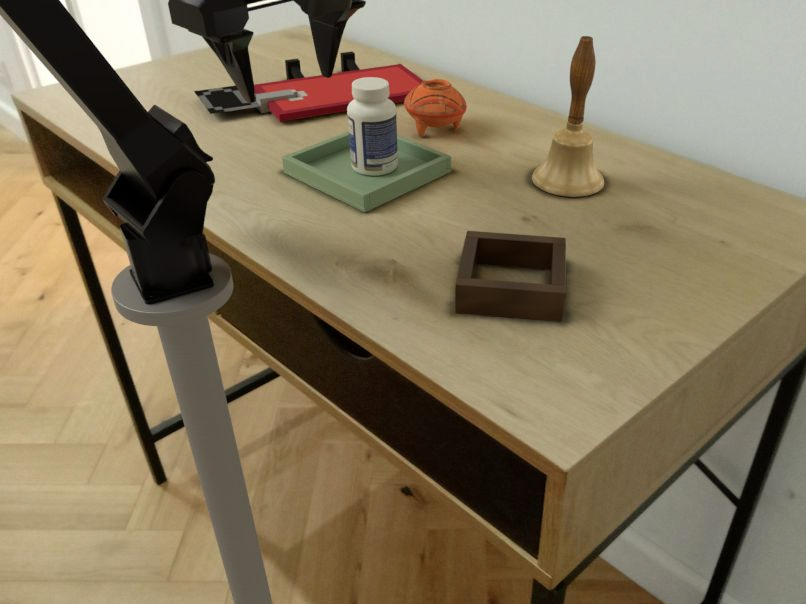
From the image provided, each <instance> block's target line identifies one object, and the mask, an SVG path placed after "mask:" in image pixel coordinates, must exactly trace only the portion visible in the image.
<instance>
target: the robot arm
mask: <svg viewBox="0 0 806 604" xmlns="http://www.w3.org/2000/svg"><path fill="white" fill-rule="evenodd" d="M289 2H294V3H295V4H296V5H298V6H299V8H300V10H301V11H302V12H303V13H304V14H305V15H307V17H308V22H309V26H310V31H311V37H312V42H313V46H314V52H315V56H316V61H317V64H318V67H319V70H320V75H322V76H323V77H326V78H330V77H332V74H333V73H334V69H335V65H336V62H337V58H338V53H339V50H340V45H341V42H342V39H343V38H342V37H343V35H344V33H345V32H344V31H345V29H346V26H347V23H348V21H349V20H350V19H351V18H352V16H353V15H354V14H355V13H357V11H359V10H360V9H363V8H364V7H365V6H366V3H367V1H366V0H168V1H167V6H168V10H169V16H170V21H171V24H172V25H174V26H177V27H180V28H182V29H185V30H187V31H188V32H189V33H192V34H194V35H197V36H199V37H202V39H203V40H204V41H205V43H206V44H207V46H209V48H210V49H211V50H212V52H213V53H214V55H215V56H216V57H217V58H218V60H219V61H220V63H221V65H222V66H223V68H224V69H225V71H226V73H227V74H228V76H229V77H230V79H231V80H232V82H233V83H234V86H235V85H236V87H237V88H238V90H239V92H240V93H241V95H242V96H243V98H244V100H245V101H247V102H249V103H254V102H255V100H256V94H255V88H254V85H255V82H254V81H255V80H254V75H253V69H252V64H251V58H250V52H249V46H250V43H251V41H252V39H253V37H254V31H252V30H249V29H246V28H245V27H246V26H247V24H248V21H249V20H250V15H249V12H253V11H256V10H261V9H265V8H269V7H274V6H277V5H281V4H286V3H289ZM0 16H1V18H2V19H3V21H5V22H6V23H7V25H8V26H9V27H10V29H12V31H14V33H15V34H16V36H18V37H19V38H20V40H21V41H22V42H23V43H24V44H25V45H26V46H27V48H28V49H29V50H30V51H31V53H33V55H34V56H35V57H36V58H37V59H38V60H39V61H40V62H41V64H42V65H43V66H44V67H45V68H46V70H47V71H48V72H49V73H50V74H51V75H52V76H53V77H54V79H55V80H56V81H57V82H58V83H59V84H60V86H61V87H62V88H63V89H64V90H65V91H66V92H67V93H68V95H69V96H70V97H71V98H72V99H73V100H74V101H75V103H76V104H77V105H78V106H79V107H80V108H81V110H82V111H83V112H84V113H85V114H86V115H87V117H88V118H90V120H91V121H92V122H93V123H94V125H96V127H97V129H98V130H99V132H100V134H101V137H102V139H103V141H104V143H105V146H106V148H107V151H108V153H109V155H110V156H111V158H112V160H113V161H114V163H115V165H116V166H117V168H118V170H119V171H118V172H117V174H116V176H114V179H113V180H112V181H111V184H110V185H109V187H108V189H107V190H106V192H105V194H104V195H103V197H102V201H103V203H104V204H105V205H106V207H107V208H108V209H109V210H110V212H111V213H112V214H113V215H114V216H115V217H116V218H119V219H120V220H121V221H122V222H123V223H120V224H119V225H118V227H119V230H120V234H121V238H122V240H123V244H124V248H125V251H126V254H127V258H128V262H129V265H131V269H130V270H129V272H130V275H131V277H132V279H133V281H134V283H135V285H136V287H137V289H138V291H139V293H140V295H141V297H142V299H143V301H144V303H145V304H147V305H151V304H155V303H158V302H162V301H165V300H169V299H173V298H176V297H180V296H183V295H187V294H190V293H194V292H198V291H201V290H205V289H208V288H211V287H213V286H214V282H213V279H212V278H211V276H210V275H209V272H211V271H212V264H211V260H210V255H209V253H210V251H209V245H208V241H207V237H206V234H205V233H204V227H205V221H206V213H207V207H208V202H209V201H210V198H211V196H212V194H213V191H214V185H215V184H216V176H215V174H214V173H215V172H214V171H213V169H212V168H211V166H210V164H208V163H209V162H213V161H214V157H213V156H211V155H210V154H208V153H207V152H205V151H204V150H203V149H202V148H201V147H200V145H199V144H198V141H197V140H196V138H195V136H194V134H193V132H192V131H191V129H190V127H189V126H188V124H186V123H185V122H184V121H182V120H180V118H177V117H176V116H174V115H172V114H171V113H169V112H168V111H166V110H164V109H163V108H162V107H160V106H158V105H156V104H152V106H151V107H150V108H149V110H148V111H147V109H146V108H145V107H144V105H143V104H142V103H141V102H140V100H139V99H138V98H137V96H136V95H135V94H134V93H133V91H132V90H131V89H130V88H129V86H128V85H127V84H126V83H125V81H124V80H123V79H122V77H121V76H120V75H119V73H117V71H116V70H115V69H114V67H113V66H112V65H111V63H110V62H109V60H107V58H106V57H105V55H104V54H103V53H102V52H101V51H100V50H99V48H98V47H97V46H96V45H95V43H94V42H93V41H92V40H91V38H90V37H89V36H88V34H87V33H86V32H85V31H84V29H83V28H82V27H81V26H80V24H79V23H78V22H77V20H76V19H75V18H74V16H73V15H72V14H71V13H70V12H69V11H68V9H67V8H66V7H65V5H64V4H63V3H62V1H61V0H0Z"/></svg>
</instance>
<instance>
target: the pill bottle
mask: <svg viewBox="0 0 806 604" xmlns="http://www.w3.org/2000/svg"><path fill="white" fill-rule="evenodd" d="M389 93H390V92H389V83H388V81H387V80H385V79H382V78H377V77H365V78H360V79H357V80H355V81H353V82H352V95H353V98H354V100H352V101H351V102H350V103H349V105H348V107H347V111H346V116H347V129H348V131H349V142H350V155H351V165H352V168H353V169H354V170H355V171H356V172H358V173H360V174H363V175H369V176H380V175H385V174H388V173H390V172H392V171H394V170H395V169H396V168H397V166H398V148H397V134H398V127H397V126H398V125H397V124H398V123H397V106H396V103H393V102H392V101H391V100H390V99H388V97H389Z"/></svg>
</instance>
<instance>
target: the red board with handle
mask: <svg viewBox="0 0 806 604" xmlns="http://www.w3.org/2000/svg"><path fill="white" fill-rule="evenodd" d="M284 63H285V64H284V65H285V66H284V67H285V75H286V76H285V77H286V79H284V80H277V81H269V82H263V83H254V88H255V102H254V103H249V102H247V101H245V100H244V98H243V96H242V95H241V93H240V92H239V90H238V88H237V87H236V85H235V84H234V85H228V86H221V87H214V88H209V89H200V90H194V91H193V92H194V94H195V95H196V97H197V98H198V99H199V101H200V102H201V103H202V104H203V106H204V107H205V108H206V110H207V111H208V112H209V114H210V115H213V114H218V113H219V114H220V113H226V112H233V111H240V110H245V109H253V108H256V109H257V110H258V111H259V112H260V113H261V114H266V113H271V114H272V115H273V117H275V118H276V120H278V122H288V121H292V120H299V119H306V118H311V117H318V116H325V115H331V114H337V113H342V112H347V107H348V105H349V103H350V102H351V101H352V100H354V98H353V95H352V82H353V81H355V80H357V79H360V78H365V77H377V78H382V79H385V80H387V81H388V83H389V92H390V93H389V97H388V99H390V100H391V101H392V102H393V103H394V104H397V103H404V100H405V98H406V96H407V95H408V94H409V93H410V92H411V91H412V90H413V89H414V88H415V87H417V86H419V85H421V84H422V82H423V81H424V80H423V79H422V78H421V77H419V76H418V75H417V74H415V72H413V71H412V70H410V69H408V67H406V66H404V65H403V64H402V63H397V64H390V65H382V66H375V67H369V68H362V69H360V68H359V65H358V64H357V63H356V53H355V52H354V51H345V52H340V69H341V71H340V72H333V74H332V77H330V78H326V77H323V76H322V74H319V75H318V74H317V75H311V76H306V77H305V76H304V74H303V72H302V69H301V60H300V59H299V58H291V59H285V60H284Z"/></svg>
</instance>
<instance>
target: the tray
mask: <svg viewBox="0 0 806 604" xmlns="http://www.w3.org/2000/svg"><path fill="white" fill-rule="evenodd" d="M397 148H398V166H397V168H396V169H395V170H394V171H392V172H390V173H388V174H385V175H380V176H369V175H363V174H360V173H358V172H356V171H355V170H354V169H353V168H352V165H351V155H350V142H349V130H348V131H346V132H344V133H341V134H339V135H336V136H333V137H329V138H328V139H325V140H322V141H320V142H317V143H314V144H312V145H309V146H307V147H304V148H301V149H299V150H296V151H294V152H291V153H288V154H286V155H282V157H281V160H282V168H283V174H285V175H287V176H289V177H291V178H294V179H296V180H297V181H300V182H301V183H304V184H306V185H307V186H309V187H312V188H314V189H316V190H318V191H320V192H322V193H324V194H326V195H329V196H330V197H331V198H334V199H336V200H339V201H341V202H343V203H344V204H346V205H349V206H351V207H352V208H355V209H357V210H359V211H361V212H363V213H366V212H369V211H371V210H374V209H375V208H377V207H380V206H382V205H384V204H386V203H388V202H390V201H393V200H394V199H397V198H399V197H400V196H404V195H405V194H407V193H409V192H412V191H413V190H416V189H418V188H420V187H422V186H424V185H426V184H428V183H431V182H433V181H434V180H437V179H439V178H442V177H444V176H445V175H448V174H450V173H451V172H452V155H449V154H447V153H444V152H442V151H440V150H437V149H434V148H432V147H430V146H427V145H425V144H423V143H419V142H417V141H415V140H412V139H410V138H408V137H405V136H403V135H400V134H398V133H397Z"/></svg>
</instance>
